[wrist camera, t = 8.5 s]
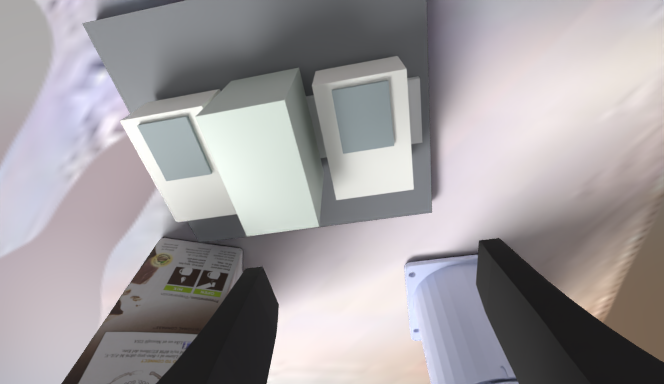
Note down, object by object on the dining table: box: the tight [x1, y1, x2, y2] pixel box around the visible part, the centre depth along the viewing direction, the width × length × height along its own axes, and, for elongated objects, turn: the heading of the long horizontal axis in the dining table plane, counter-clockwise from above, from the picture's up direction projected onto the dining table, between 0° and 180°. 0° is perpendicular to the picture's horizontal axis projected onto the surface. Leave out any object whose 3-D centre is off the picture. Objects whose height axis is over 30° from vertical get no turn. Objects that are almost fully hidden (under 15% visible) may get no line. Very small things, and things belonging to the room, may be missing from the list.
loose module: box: [195, 68, 324, 237], centre depth 16 cm, size 6×4×5 cm, turn 11°
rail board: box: [82, 0, 432, 243], centre depth 18 cm, size 14×16×4 cm
